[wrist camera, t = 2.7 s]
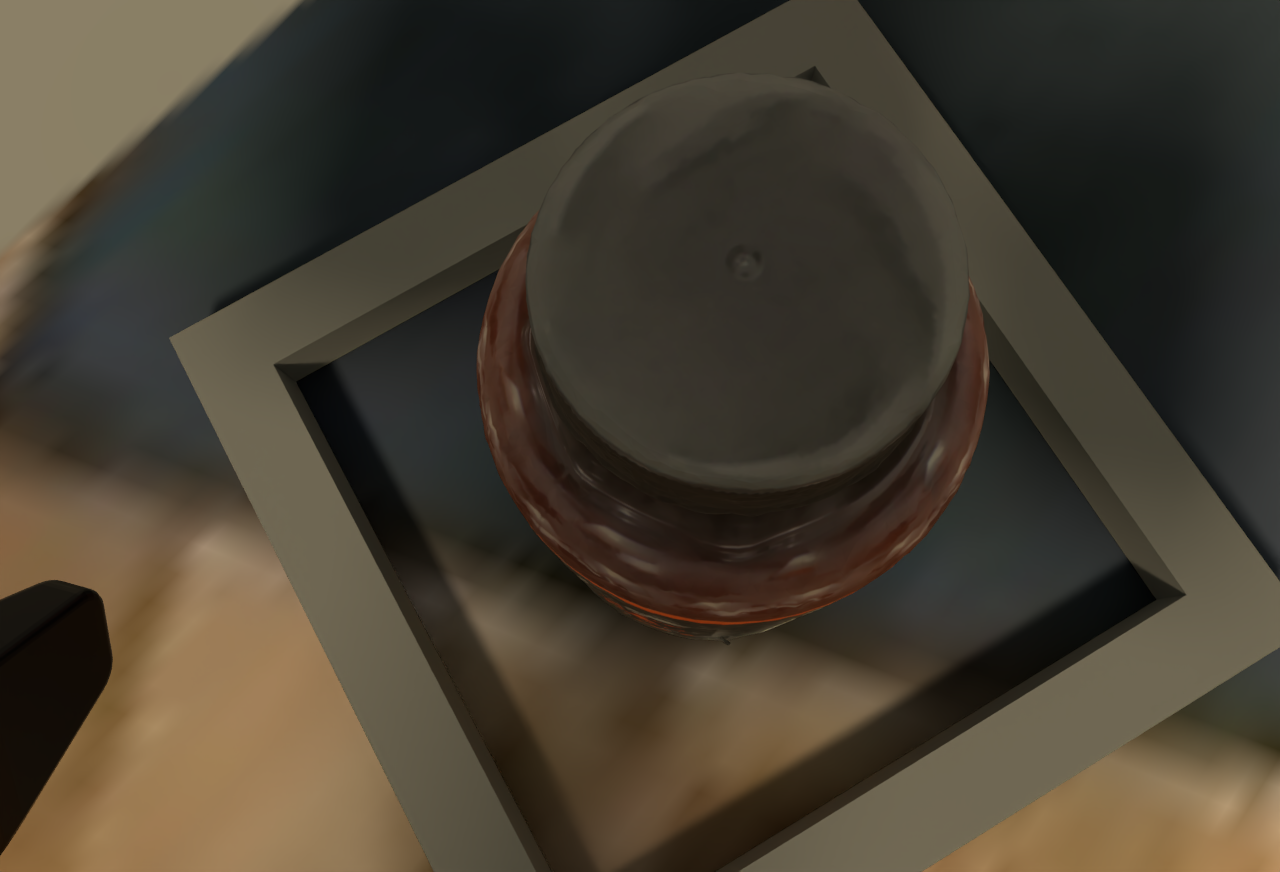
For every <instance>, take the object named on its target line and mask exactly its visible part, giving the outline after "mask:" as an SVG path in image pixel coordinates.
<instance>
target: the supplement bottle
mask: <svg viewBox="0 0 1280 872" xmlns="http://www.w3.org/2000/svg"><path fill="white" fill-rule="evenodd" d="M989 375H990V371H989V355H988V346H987V337H986V333H985V329H984V319H983V313H982V310H981V307H980V303H979V299H978V297H977V294H976V291H975V288H974V286H973V284H972V281H971V279H970V277H969V270H968V254H967V247H966V244H965V241H964V237H963V234H962V231H961V228H960V225H959V222H958V218H957V215H956V212H955V208H954V205H953V201H952V199H951V198H950V196H949V194H948V193H947V191H946V189H945V187H944V185H943V183H942V181H941V179H940V177H939V176H938V174H937V172H936V170H935V169H934V167H933V166H932V165H931V164H930V163H929V162H928V161H927V159H926V158H925V157H924V155H923V154H922V153H921V151H920V150H919V148H918V147H917V146H916V145H915V144H914V143H913V142H912V141H910V140H909V139H908V138H907V137H906V136H905V135H904V134H903V133H902V132H901V131H900V130H899V129H898V128H897V127H896V126H895V125H894V124H893V123H892V122H891V121H889V120H888V119H887V118H886V117H884V116H883V115H882V114H881V113H879V112H878V111H875V110H873V109H871V108H869V107H866V106H864V105H862V104H860V103H858V102H857V101H856V100H854V99H853V98H851V97H849V96H847V95H845V94H843V93H841V92H839V91H836V90H834V89H831V88H829V87H827V86H824V85H821V84H818V83H816V82H813V81H810V80H805V79H801V78H797V77H781V76H777V75H772V74H750V73H729V74H718V75H715V76H711V77H701V78H697V79H692V80H689V81H685V82H681V83H677V84H673V85H671V86H668V87H666V88H663V89H661V90H658V91H655V92H652V93H650V94H648V95H646V96H644V97H642V98H640V99H638V100H637V101H635V102H633V103H632V104H630V105H628V106H627V107H626V108H624V109H623V110H621V111H620V112H618V113H616V114H615V115H613V116H611V117H609V118H608V119H607V120H606V121H605V122H604V123H603V124H602V125H601V126H600V127H599V128H597V129H596V130H595V131H594V132H593V133H591V134H590V135H589V136H588V137H587V138H586V139H585V140H584V141H583V142H582V144H581V145H580V146H579V147H577V148H576V149H575V151H574V152H573V154H572V155H571V157H570V158H569V160H568V161H567V162H566V163H565V164H564V165H563V166H562V167H561V169H560V171H559V173H558V175H557V177H556V178H555V180H554V181H553V183H552V184H551V185H550V187H549V189H548V191H547V193H546V195H545V198H544V200H543V203H542V205H541V208H540V210H539V211H538V212H537V213H536V214H535V215H533V217H532V218H531V220H530V221H529V222H528V224H527V225H526V227H525V228H524V230H523V231H522V232H521V233H520V234H519V236H518V237H517V239H516V241H515V243H514V245H513V246H512V248H511V250H510V252H509V254H508V255H507V257H506V259H505V260H504V262H503V264H502V265H501V268H500V270H499V272H498V274H497V277H496V280H495V282H494V285H493V288H492V291H491V293H490V296H489V300H488V303H487V307H486V311H485V314H484V317H483V323H482V327H481V331H480V337H479V345H478V350H477V389H478V394H479V399H480V408H481V414H482V420H483V424H484V432H485V437H486V440H487V442H488V444H489V447H490V451H491V453H492V456H493V459H494V462H495V465H496V468H497V471H498V474H499V476H500V478H501V479H502V481H503V483H504V485H505V487H506V488H507V490H508V492H509V494H510V495H511V497H512V499H513V501H514V502H515V504H516V505H517V507H518V508H519V510H520V512H521V513H522V514H523V516H524V517H525V519H526V520H527V522H528V523H529V525H530V526H531V527H532V529H533V531H534V532H535V533H536V535H537V536H538V537H539V538H540V539H541V540H542V541H543V542H544V543H545V545H546V546H547V547H548V548H549V549H550V550H551V551H552V552H553V553H554V554H555V555H556V556H557V557H558V558H559V559H560V560H561V561H562V562H563V563H564V564H565V565H566V566H567V567H568V568H569V570H571V571H572V572H574V573H575V574H576V575H577V576H578V577H579V578H580V579H581V580H582V581H584V582H585V583H586V584H587V586H588V587H589V588H590V589H591V590H592V591H593V592H594V593H595V594H596V595H597V596H599V597H600V598H601V600H603V601H604V602H606V603H607V604H608V605H610V606H612V607H613V608H614V609H616V610H617V611H618V612H619V613H620V614H622V615H624V616H626V617H628V618H630V619H632V620H634V621H636V622H638V623H640V624H642V625H644V626H647V627H651V628H653V629H655V630H657V631H661V632H664V633H667V634H670V635H674V636H679V637H683V638H688V639H693V640H699V639H703V640H719V641H722V642H723V643H725V644H727V645H729V644H730V642H729V641H727V640H731V639H735V638H739V637H743V636H747V635H752V634H757V633H761V632H764V631H766V630H769V629H772V628H774V627H777V626H779V625H781V624H784V623H786V622H789V621H791V620H793V619H796V618H799V617H801V616H804V615H806V614H808V613H811V612H813V611H816V610H818V609H821V608H823V607H826V606H828V605H830V604H832V603H834V602H836V601H838V600H840V599H842V598H844V597H845V596H848V595H850V594H852V593H854V592H855V591H857V590H859V589H861V588H862V587H864V586H865V585H867V584H868V583H870V582H871V581H873V580H874V579H876V578H877V577H879V576H880V575H882V574H883V573H884V572H886V571H887V570H889V569H890V568H891V567H893V566H894V565H895V564H896V563H897V562H898V561H899V560H900V559H901V558H902V557H903V556H905V555H906V554H908V553H910V551H911V550H912V549H913V548H914V547H915V546H916V545H917V544H918V543H919V542H920V541H921V540H922V539H923V538H924V537H925V536H926V535H927V534H928V532H929V531H930V530H931V528H932V527H933V525H934V524H935V523H936V521H937V520H938V519H939V517H940V516H941V514H942V513H943V512H944V510H945V509H946V508H947V506H948V504H949V503H950V501H951V500H952V498H953V497H954V495H955V494H956V492H957V491H958V489H959V487H960V485H961V482H962V480H963V477H964V474H965V472H966V470H967V469H968V467H969V466H970V463H971V460H972V456H973V453H974V451H975V449H976V446H977V443H978V439H979V436H980V432H981V429H982V424H983V419H984V414H985V408H986V403H987V395H988V387H989Z"/></svg>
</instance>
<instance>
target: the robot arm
mask: <svg viewBox="0 0 1280 872" xmlns="http://www.w3.org/2000/svg"><path fill="white" fill-rule="evenodd" d="M112 662H113V657H112V650H111V644H110V638H109V632H108V627H107V621H106V615H105V609H104V604H103V601H102V598H101V597H100V596H99V594H98V593H97V592H96V591H94V590H92V589H88V588H85V587H81V586H78V585H74V584H71V583H67V582H63V581H58V580H49V581H44V582H41V583H38V584H36V585H33V586H31V587H29V588H26V589H24V590H22V591H19V592H17V593H15V594H12V595H10V596H7V597H5V598H3V599H0V855H1V854H2V852H3V851H4V850H5V848H6V847H7V846H8V844H9V842H10V841H11V839H12V838H13V836H14V835H15V833H16V832H17V830H18V829H19V827H20V825H21V824H22V822H23V821H24V819H25V818H26V816H27V814H28V813H29V811H30V809H31V808H32V806H33V805H34V803H35V801H36V800H37V798H38V796H39V795H40V793H41V791H42V790H43V788H44V787H45V785H46V783H47V782H48V780H49V778H50V777H51V775H52V773H53V772H54V770H55V768H56V767H57V765H58V764H59V762H60V760H61V759H62V757H63V755H64V754H65V752H66V750H67V749H68V747H69V745H70V744H71V742H72V741H73V739H74V737H75V736H76V734H77V732H78V731H79V729H80V727H81V726H82V724H83V723H84V721H85V719H86V718H87V716H88V714H89V713H90V711H91V709H92V708H93V706H94V704H95V703H96V701H97V700H98V698H99V696H100V695H101V693H102V691H103V690H104V688H105V686H106V684H107V682H108V679H109V677H110V673H111V670H112Z"/></svg>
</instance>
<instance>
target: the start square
mask: <svg viewBox="0 0 1280 872" xmlns="http://www.w3.org/2000/svg"><path fill="white" fill-rule="evenodd" d="M729 73H750V74H772V75H777V76H781V77H797V78H801V79H805V80H810V81H813V82H816V83H818V84H821V85H824V86H827V87H829V88H831V89H834V90H836V91H839V92H841V93H843V94H845V95H847V96H849V97H851V98H853V99H854V100H856V101H857V102H858V103H860V104H862V105H864V106H866V107H869V108H871V109H873V110H875V111H878V112H879V113H881V114H882V115H883V116H884V117H886V118H887V119H888V120H889V121H891V122H892V123H893V124H894V125H895V126H896V127H897V128H898V129H899V130H900V131H901V132H902V133H903V134H904V135H905V136H906V137H907V138H908V139H909V140H910V141H912V142H913V143H914V144H915V145H916V146H917V147H918V148H919V150H920V151H921V153H922V154H923V155H924V157H925V158H926V159H927V161H928V162H929V163H930V164H931V165H932V166H933V167H934V169H935V170H936V172H937V174H938V176H939V177H940V179H941V181H942V183H943V185H944V187H945V189H946V191H947V193H948V194H949V196H950V198H951V199H952V201H953V205H954V208H955V212H956V215H957V218H958V222H959V225H960V228H961V231H962V234H963V237H964V241H965V244H966V247H967V254H968V270H969V277H970V279H971V281H972V284H973V286H974V288H975V291H976V294H977V297H978V299H979V303H980V307H981V310H982V313H983V319H984V329H985V333H986V337H987V346H988V355H989V360H990V361H991V362H992V364H993V365H994V367H995V368H996V370H997V371H998V372H999V374H1000V375H1001V377H1002V378H1003V380H1004V381H1005V383H1006V384H1007V385H1008V387H1009V388H1010V390H1011V391H1012V393H1013V394H1014V396H1015V397H1016V398H1017V400H1018V401H1019V403H1020V404H1021V406H1022V407H1023V408H1024V410H1025V411H1026V413H1027V414H1028V416H1029V417H1030V419H1031V420H1032V421H1033V423H1034V424H1035V426H1036V427H1037V429H1038V430H1039V432H1040V433H1041V434H1042V436H1043V437H1044V439H1045V440H1046V442H1047V443H1048V444H1049V446H1050V447H1051V449H1052V450H1053V452H1054V453H1055V455H1056V456H1057V457H1058V459H1059V460H1060V462H1061V463H1062V465H1063V466H1064V467H1065V469H1066V470H1067V472H1068V473H1069V475H1070V476H1071V478H1072V479H1073V480H1074V482H1075V483H1076V485H1077V486H1078V488H1079V489H1080V491H1081V492H1082V493H1083V495H1084V496H1085V498H1086V499H1087V501H1088V502H1089V503H1090V505H1091V506H1092V508H1093V509H1094V511H1095V512H1096V514H1097V515H1098V516H1099V518H1100V519H1101V521H1102V522H1103V524H1104V525H1105V526H1106V528H1107V529H1108V531H1109V532H1110V534H1111V535H1112V537H1113V538H1114V539H1115V541H1116V542H1117V544H1118V545H1119V547H1120V548H1121V550H1122V551H1123V552H1124V554H1125V555H1126V557H1127V558H1128V560H1129V561H1130V562H1131V564H1132V565H1133V567H1134V568H1135V570H1136V571H1137V573H1138V574H1139V575H1140V577H1141V578H1142V580H1143V581H1144V583H1145V584H1146V586H1147V587H1148V588H1149V590H1150V591H1151V593H1152V594H1153V596H1154V597H1155V598H1156V600H1155V601H1154V602H1152V603H1150V604H1149V605H1147V606H1146V607H1144V608H1142V609H1141V610H1139V611H1137V612H1136V613H1134V614H1133V615H1131V616H1129V617H1128V618H1126V619H1124V620H1123V621H1121V622H1120V623H1118V624H1116V625H1115V626H1113V627H1111V628H1110V629H1108V630H1107V631H1105V632H1103V633H1102V634H1100V635H1098V636H1097V637H1095V638H1094V639H1092V640H1090V641H1089V642H1087V643H1085V644H1084V645H1082V646H1081V647H1079V648H1077V649H1076V650H1074V651H1072V652H1071V653H1069V654H1068V655H1066V656H1064V657H1063V658H1061V659H1060V660H1058V661H1056V662H1055V663H1053V664H1051V665H1050V666H1048V667H1047V668H1045V669H1043V670H1042V671H1040V672H1038V673H1037V674H1035V675H1034V676H1032V677H1030V678H1029V679H1027V680H1025V681H1024V682H1022V683H1021V684H1019V685H1017V686H1016V687H1014V688H1012V689H1011V690H1009V691H1008V692H1006V693H1004V694H1003V695H1001V696H999V697H998V698H996V699H995V700H993V701H991V702H990V703H988V704H986V705H985V706H983V707H982V708H980V709H978V710H977V711H975V712H973V713H972V714H970V715H969V716H967V717H965V718H964V719H962V720H961V721H959V722H957V723H956V724H954V725H952V726H951V727H949V728H948V729H946V730H944V731H943V732H941V733H939V734H938V735H936V736H935V737H933V738H931V739H930V740H928V741H926V742H925V743H923V744H922V745H920V746H918V747H917V748H915V749H913V750H912V751H910V752H909V753H907V754H905V755H904V756H902V757H900V758H899V759H897V760H896V761H894V762H892V763H891V764H889V765H887V766H886V767H884V768H883V769H881V770H879V771H878V772H876V773H875V774H873V775H871V776H870V777H868V778H866V779H865V780H863V781H862V782H860V783H858V784H857V785H855V786H853V787H852V788H850V789H849V790H847V791H845V792H844V793H842V794H840V795H839V796H837V797H836V798H834V799H832V800H831V801H829V802H827V803H826V804H824V805H823V806H821V807H819V808H818V809H816V810H814V811H813V812H811V813H810V814H808V815H806V816H805V817H803V818H801V819H800V820H798V821H797V822H795V823H793V824H792V825H790V826H788V827H787V828H785V829H784V830H782V831H780V832H779V833H777V834H776V835H774V836H772V837H771V838H769V839H767V840H766V841H764V842H763V843H761V844H759V845H758V846H756V847H754V848H753V849H751V850H750V851H748V852H746V853H745V854H743V855H741V856H740V857H738V858H737V859H735V860H733V861H732V862H730V863H728V864H727V865H725V866H724V867H722V868H720V869H719V870H717V871H715V872H922V871H924V870H925V869H927V868H928V867H930V866H932V865H933V864H935V863H936V862H938V861H939V860H941V859H943V858H944V857H946V856H947V855H949V854H951V853H952V852H954V851H955V850H957V849H959V848H960V847H962V846H963V845H965V844H967V843H968V842H970V841H971V840H973V839H975V838H976V837H978V836H979V835H981V834H983V833H984V832H986V831H987V830H989V829H990V828H992V827H994V826H995V825H997V824H998V823H1000V822H1002V821H1003V820H1005V819H1006V818H1008V817H1010V816H1011V815H1013V814H1014V813H1016V812H1018V811H1019V810H1021V809H1022V808H1024V807H1026V806H1027V805H1029V804H1030V803H1032V802H1034V801H1035V800H1037V799H1038V798H1040V797H1041V796H1043V795H1045V794H1046V793H1048V792H1049V791H1051V790H1053V789H1054V788H1056V787H1057V786H1059V785H1061V784H1062V783H1064V782H1065V781H1067V780H1069V779H1070V778H1072V777H1073V776H1075V775H1077V774H1078V773H1080V772H1081V771H1083V770H1085V769H1086V768H1088V767H1089V766H1091V765H1092V764H1094V763H1096V762H1097V761H1099V760H1100V759H1102V758H1104V757H1105V756H1107V755H1108V754H1110V753H1112V752H1113V751H1115V750H1116V749H1118V748H1120V747H1121V746H1123V745H1124V744H1126V743H1128V742H1129V741H1131V740H1132V739H1134V738H1136V737H1137V736H1139V735H1140V734H1142V733H1143V732H1145V731H1147V730H1148V729H1150V728H1151V727H1153V726H1155V725H1156V724H1158V723H1159V722H1161V721H1163V720H1164V719H1166V718H1167V717H1169V716H1171V715H1172V714H1174V713H1175V712H1177V711H1179V710H1180V709H1182V708H1183V707H1185V706H1187V705H1188V704H1190V703H1191V702H1193V701H1194V700H1196V699H1198V698H1199V697H1201V696H1202V695H1204V694H1206V693H1207V692H1209V691H1210V690H1212V689H1214V688H1215V687H1217V686H1218V685H1220V684H1222V683H1223V682H1225V681H1226V680H1228V679H1230V678H1231V677H1233V676H1234V675H1236V674H1238V673H1239V672H1241V671H1242V670H1244V669H1245V668H1247V667H1249V666H1250V665H1252V664H1253V663H1255V662H1257V661H1258V660H1260V659H1261V658H1263V657H1265V656H1266V655H1268V654H1269V653H1271V652H1273V651H1274V650H1276V649H1277V648H1279V647H1280V581H1279V580H1278V578H1277V577H1276V576H1275V574H1274V573H1273V572H1272V570H1271V569H1270V567H1269V566H1268V565H1267V563H1266V562H1265V561H1264V559H1263V558H1262V556H1261V555H1260V554H1259V552H1258V551H1257V550H1256V548H1255V547H1254V545H1253V544H1252V543H1251V541H1250V540H1249V539H1248V537H1247V536H1246V534H1245V533H1244V532H1243V530H1242V529H1241V528H1240V526H1239V525H1238V523H1237V522H1236V521H1235V519H1234V518H1233V517H1232V515H1231V514H1230V512H1229V511H1228V510H1227V508H1226V507H1225V505H1224V504H1223V503H1222V501H1221V500H1220V499H1219V497H1218V496H1217V494H1216V493H1215V492H1214V490H1213V489H1212V488H1211V486H1210V485H1209V483H1208V482H1207V481H1206V479H1205V478H1204V477H1203V475H1202V474H1201V472H1200V471H1199V470H1198V468H1197V467H1196V466H1195V464H1194V463H1193V461H1192V460H1191V459H1190V457H1189V456H1188V455H1187V453H1186V452H1185V450H1184V449H1183V448H1182V446H1181V445H1180V444H1179V442H1178V441H1177V439H1176V438H1175V437H1174V435H1173V434H1172V433H1171V431H1170V430H1169V428H1168V427H1167V426H1166V424H1165V423H1164V422H1163V420H1162V419H1161V417H1160V416H1159V415H1158V413H1157V412H1156V411H1155V409H1154V408H1153V406H1152V405H1151V404H1150V402H1149V401H1148V399H1147V398H1146V397H1145V395H1144V394H1143V393H1142V391H1141V390H1140V388H1139V387H1138V386H1137V384H1136V383H1135V382H1134V380H1133V379H1132V377H1131V376H1130V375H1129V373H1128V372H1127V371H1126V369H1125V368H1124V366H1123V365H1122V364H1121V362H1120V361H1119V360H1118V358H1117V357H1116V355H1115V354H1114V353H1113V351H1112V350H1111V349H1110V347H1109V346H1108V344H1107V343H1106V342H1105V340H1104V339H1103V338H1102V336H1101V335H1100V333H1099V332H1098V331H1097V329H1096V328H1095V327H1094V325H1093V324H1092V322H1091V321H1090V320H1089V318H1088V317H1087V316H1086V314H1085V313H1084V311H1083V310H1082V309H1081V307H1080V306H1079V305H1078V303H1077V302H1076V300H1075V299H1074V298H1073V296H1072V295H1071V293H1070V292H1069V291H1068V289H1067V288H1066V287H1065V285H1064V284H1063V282H1062V281H1061V280H1060V278H1059V277H1058V276H1057V274H1056V273H1055V271H1054V270H1053V269H1052V267H1051V266H1050V265H1049V263H1048V262H1047V260H1046V259H1045V258H1044V256H1043V255H1042V254H1041V252H1040V251H1039V249H1038V248H1037V247H1036V245H1035V244H1034V243H1033V241H1032V240H1031V238H1030V237H1029V236H1028V234H1027V233H1026V232H1025V230H1024V229H1023V227H1022V226H1021V225H1020V223H1019V222H1018V221H1017V219H1016V218H1015V216H1014V215H1013V214H1012V212H1011V211H1010V210H1009V208H1008V207H1007V205H1006V204H1005V203H1004V201H1003V200H1002V199H1001V197H1000V196H999V194H998V193H997V192H996V190H995V189H994V187H993V186H992V185H991V183H990V182H989V181H988V179H987V178H986V176H985V175H984V174H983V172H982V171H981V170H980V168H979V167H978V165H977V164H976V163H975V161H974V160H973V159H972V157H971V156H970V154H969V153H968V152H967V150H966V149H965V148H964V146H963V145H962V143H961V142H960V141H959V139H958V138H957V137H956V135H955V134H954V132H953V131H952V130H951V128H950V127H949V126H948V124H947V123H946V121H945V120H944V119H943V117H942V116H941V115H940V113H939V112H938V110H937V109H936V108H935V106H934V105H933V104H932V102H931V101H930V99H929V98H928V97H927V95H926V94H925V93H924V91H923V90H922V88H921V87H920V86H919V84H918V83H917V82H916V80H915V79H914V77H913V76H912V75H911V73H910V72H909V70H908V69H907V68H906V66H905V65H904V64H903V62H902V61H901V59H900V58H899V57H898V55H897V54H896V53H895V51H894V50H893V48H892V47H891V46H890V44H889V43H888V42H887V40H886V39H885V37H884V36H883V35H882V33H881V32H880V31H879V29H878V28H877V26H876V25H875V24H874V22H873V21H872V20H871V18H870V17H869V15H868V14H867V13H866V11H865V10H864V9H863V7H862V6H861V4H860V3H859V2H858V0H790V1H788V2H786V3H784V4H782V5H780V6H779V7H777V8H775V9H773V10H771V11H769V12H768V13H766V14H764V15H762V16H760V17H758V18H756V19H755V20H753V21H751V22H749V23H747V24H745V25H744V26H742V27H740V28H738V29H736V30H734V31H733V32H731V33H729V34H727V35H725V36H723V37H722V38H720V39H718V40H716V41H714V42H712V43H711V44H709V45H707V46H705V47H703V48H701V49H699V50H698V51H696V52H694V53H692V54H690V55H688V56H687V57H685V58H683V59H681V60H679V61H677V62H676V63H674V64H672V65H670V66H668V67H666V68H665V69H663V70H661V71H659V72H657V73H655V74H654V75H652V76H650V77H648V78H646V79H644V80H643V81H641V82H639V83H637V84H635V85H633V86H631V87H630V88H628V89H626V90H624V91H622V92H620V93H619V94H617V95H615V96H613V97H611V98H609V99H608V100H606V101H604V102H602V103H600V104H598V105H597V106H595V107H593V108H591V109H589V110H587V111H586V112H584V113H582V114H580V115H578V116H576V117H575V118H573V119H571V120H569V121H567V122H565V123H563V124H562V125H560V126H558V127H556V128H554V129H552V130H551V131H549V132H547V133H545V134H543V135H541V136H540V137H538V138H536V139H534V140H532V141H530V142H529V143H527V144H525V145H523V146H521V147H519V148H518V149H516V150H514V151H512V152H510V153H508V154H507V155H505V156H503V157H501V158H499V159H497V160H495V161H494V162H492V163H490V164H488V165H486V166H484V167H483V168H481V169H479V170H477V171H475V172H473V173H472V174H470V175H468V176H466V177H464V178H462V179H461V180H459V181H457V182H455V183H453V184H451V185H450V186H448V187H446V188H444V189H442V190H440V191H438V192H437V193H435V194H433V195H431V196H429V197H427V198H426V199H424V200H422V201H420V202H418V203H416V204H415V205H413V206H411V207H409V208H407V209H405V210H404V211H402V212H400V213H398V214H396V215H394V216H393V217H391V218H389V219H387V220H385V221H383V222H382V223H380V224H378V225H376V226H374V227H372V228H370V229H369V230H367V231H365V232H363V233H361V234H359V235H358V236H356V237H354V238H352V239H350V240H348V241H347V242H345V243H343V244H341V245H339V246H337V247H336V248H334V249H332V250H330V251H328V252H326V253H325V254H323V255H321V256H319V257H317V258H315V259H314V260H312V261H310V262H308V263H306V264H304V265H302V266H301V267H299V268H297V269H295V270H293V271H291V272H290V273H288V274H286V275H284V276H282V277H280V278H279V279H277V280H275V281H273V282H271V283H269V284H268V285H266V286H264V287H262V288H260V289H258V290H257V291H255V292H253V293H251V294H249V295H247V296H245V297H244V298H242V299H240V300H238V301H236V302H234V303H233V304H231V305H229V306H227V307H225V308H223V309H222V310H220V311H218V312H216V313H214V314H212V315H211V316H209V317H207V318H205V319H203V320H201V321H200V322H198V323H196V324H194V325H192V326H190V327H189V328H187V329H185V330H183V331H181V332H179V333H177V334H176V335H174V336H172V337H170V338H169V339H170V341H171V343H172V345H173V347H174V349H175V351H176V353H177V355H178V357H179V359H180V361H181V363H182V365H183V367H184V369H185V371H186V373H187V375H188V377H189V379H190V381H191V383H192V385H193V387H194V389H195V391H196V393H197V395H198V397H199V399H200V401H201V403H202V405H203V407H204V409H205V411H206V413H207V415H208V417H209V419H210V421H211V423H212V425H213V427H214V429H215V431H216V433H217V435H218V437H219V439H220V441H221V443H222V445H223V447H224V449H225V452H226V454H227V456H228V458H229V460H230V462H231V464H232V466H233V468H234V470H235V472H236V474H237V476H238V478H239V480H240V482H241V484H242V486H243V488H244V490H245V492H246V494H247V496H248V498H249V500H250V502H251V504H252V506H253V508H254V510H255V512H256V514H257V516H258V518H259V520H260V522H261V524H262V526H263V528H264V530H265V532H266V534H267V536H268V538H269V540H270V542H271V544H272V546H273V548H274V550H275V552H276V554H277V556H278V558H279V560H280V562H281V564H282V566H283V568H284V570H285V572H286V575H287V577H288V579H289V581H290V583H291V585H292V587H293V589H294V591H295V593H296V595H297V597H298V599H299V601H300V603H301V605H302V607H303V609H304V611H305V613H306V615H307V617H308V619H309V621H310V623H311V625H312V627H313V629H314V631H315V633H316V635H317V637H318V639H319V641H320V643H321V645H322V647H323V649H324V651H325V653H326V655H327V657H328V659H329V661H330V663H331V665H332V667H333V669H334V671H335V673H336V675H337V677H338V679H339V681H340V683H341V685H342V687H343V689H344V691H345V693H346V695H347V698H348V700H349V702H350V704H351V706H352V708H353V710H354V712H355V714H356V716H357V718H358V720H359V722H360V724H361V726H362V728H363V730H364V732H365V734H366V736H367V738H368V740H369V742H370V744H371V746H372V748H373V750H374V752H375V754H376V756H377V758H378V760H379V762H380V764H381V766H382V768H383V770H384V772H385V774H386V776H387V778H388V780H389V782H390V784H391V786H392V788H393V790H394V792H395V794H396V796H397V798H398V800H399V802H400V804H401V806H402V808H403V810H404V812H405V814H406V816H407V818H408V821H409V823H410V825H411V827H412V829H413V831H414V833H415V835H416V837H417V839H418V841H419V843H420V845H421V847H422V849H423V851H424V853H425V855H426V857H427V859H428V861H429V863H430V865H431V867H432V869H433V871H434V872H551V870H550V868H549V866H548V864H547V862H546V860H545V858H544V856H543V854H542V853H541V851H540V849H539V847H538V845H537V843H536V841H535V839H534V837H533V835H532V833H531V831H530V830H529V828H528V826H527V824H526V822H525V820H524V818H523V816H522V814H521V812H520V810H519V808H518V807H517V805H516V803H515V801H514V799H513V797H512V795H511V793H510V791H509V789H508V787H507V785H506V784H505V782H504V780H503V778H502V776H501V774H500V772H499V770H498V768H497V766H496V764H495V762H494V761H493V759H492V757H491V755H490V753H489V751H488V749H487V747H486V745H485V743H484V741H483V739H482V738H481V736H480V734H479V732H478V730H477V728H476V726H475V724H474V722H473V720H472V718H471V716H470V715H469V713H468V711H467V709H466V707H465V705H464V703H463V701H462V699H461V697H460V695H459V693H458V692H457V690H456V688H455V686H454V684H453V682H452V680H451V678H450V676H449V674H448V672H447V670H446V669H445V667H444V665H443V663H442V661H441V659H440V657H439V655H438V653H437V651H436V649H435V647H434V645H433V644H432V642H431V640H430V638H429V636H428V634H427V632H426V630H425V628H424V626H423V624H422V622H421V621H420V619H419V617H418V615H417V613H416V611H415V609H414V607H413V605H412V603H411V601H410V599H409V598H408V596H407V594H406V592H405V590H404V588H403V586H402V584H401V582H400V580H399V578H398V576H397V575H396V573H395V571H394V569H393V567H392V565H391V563H390V561H389V559H388V557H387V555H386V553H385V552H384V550H383V548H382V546H381V544H380V542H379V540H378V538H377V536H376V534H375V532H374V530H373V529H372V527H371V525H370V523H369V521H368V519H367V517H366V515H365V513H364V511H363V509H362V507H361V506H360V504H359V502H358V500H357V498H356V496H355V494H354V492H353V490H352V488H351V486H350V484H349V483H348V481H347V479H346V477H345V475H344V473H343V471H342V469H341V467H340V465H339V463H338V461H337V460H336V458H335V456H334V454H333V452H332V450H331V448H330V446H329V444H328V442H327V440H326V438H325V437H324V435H323V433H322V431H321V429H320V427H319V425H318V423H317V421H316V419H315V417H314V415H313V414H312V412H311V410H310V408H309V406H308V404H307V402H306V400H305V398H304V396H303V394H302V392H301V391H300V389H299V387H298V385H297V383H296V381H298V380H300V379H302V378H303V377H305V376H307V375H309V374H311V373H312V372H314V371H316V370H318V369H320V368H321V367H323V366H325V365H327V364H329V363H330V362H332V361H334V360H336V359H338V358H339V357H341V356H343V355H345V354H347V353H349V352H350V351H352V350H354V349H356V348H358V347H359V346H361V345H363V344H365V343H367V342H368V341H370V340H372V339H374V338H376V337H377V336H379V335H381V334H383V333H385V332H386V331H388V330H390V329H392V328H394V327H396V326H397V325H399V324H401V323H403V322H405V321H406V320H408V319H410V318H412V317H414V316H415V315H417V314H419V313H421V312H423V311H424V310H426V309H428V308H430V307H432V306H433V305H435V304H437V303H439V302H441V301H442V300H444V299H446V298H448V297H450V296H452V295H453V294H455V293H457V292H459V291H461V290H462V289H464V288H466V287H468V286H470V285H471V284H473V283H475V282H477V281H479V280H480V279H482V278H484V277H486V276H488V275H489V274H491V273H493V272H495V271H497V270H498V269H500V268H501V265H502V264H503V262H504V260H505V259H506V257H507V255H508V254H509V252H510V250H511V248H512V246H513V245H514V243H515V241H516V239H517V237H518V236H519V234H520V233H521V232H522V231H523V230H524V228H525V227H526V225H527V224H528V222H529V221H530V220H531V218H532V217H533V215H535V214H536V213H537V212H538V211H539V210H540V208H541V205H542V203H543V200H544V198H545V195H546V193H547V191H548V189H549V187H550V185H551V184H552V183H553V181H554V180H555V178H556V177H557V175H558V173H559V171H560V169H561V167H562V166H563V165H564V164H565V163H566V162H567V161H568V160H569V158H570V157H571V155H572V154H573V152H574V151H575V149H576V148H577V147H579V146H580V145H581V144H582V142H583V141H584V140H585V139H586V138H587V137H588V136H589V135H590V134H591V133H593V132H594V131H595V130H596V129H597V128H599V127H600V126H601V125H602V124H603V123H604V122H605V121H606V120H607V119H608V118H609V117H611V116H613V115H615V114H616V113H618V112H620V111H621V110H623V109H624V108H626V107H627V106H628V105H630V104H632V103H633V102H635V101H637V100H638V99H640V98H642V97H644V96H646V95H648V94H650V93H652V92H655V91H658V90H661V89H663V88H666V87H668V86H671V85H673V84H677V83H681V82H685V81H689V80H692V79H697V78H701V77H711V76H715V75H718V74H729Z"/></svg>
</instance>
